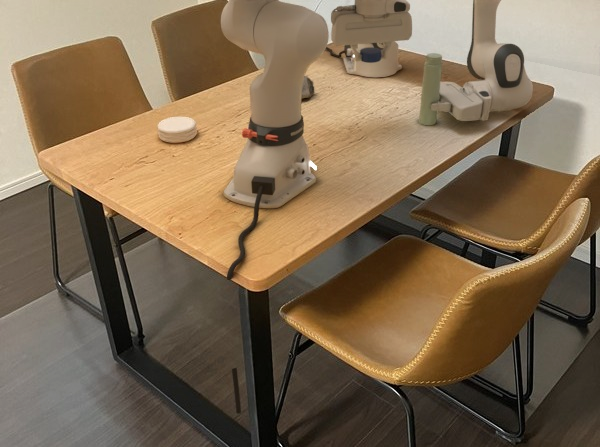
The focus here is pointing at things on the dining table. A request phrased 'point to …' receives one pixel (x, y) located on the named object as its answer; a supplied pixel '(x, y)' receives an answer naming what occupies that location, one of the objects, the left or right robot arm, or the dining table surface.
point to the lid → (370, 55)
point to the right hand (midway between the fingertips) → (426, 102)
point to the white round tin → (177, 129)
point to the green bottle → (430, 88)
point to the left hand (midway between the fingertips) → (370, 59)
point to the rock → (307, 88)
